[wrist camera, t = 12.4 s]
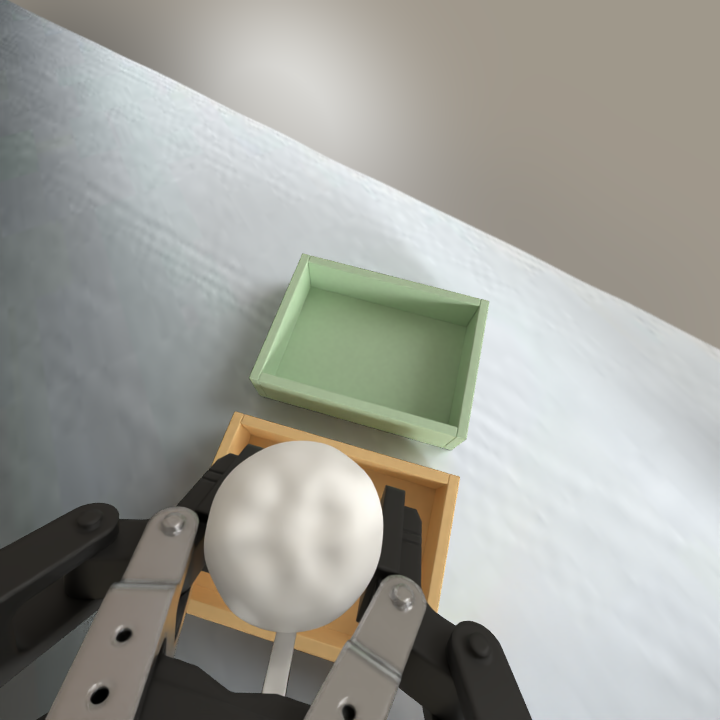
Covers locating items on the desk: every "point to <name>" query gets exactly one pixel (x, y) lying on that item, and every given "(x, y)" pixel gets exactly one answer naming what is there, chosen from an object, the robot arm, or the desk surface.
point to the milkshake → (293, 543)
